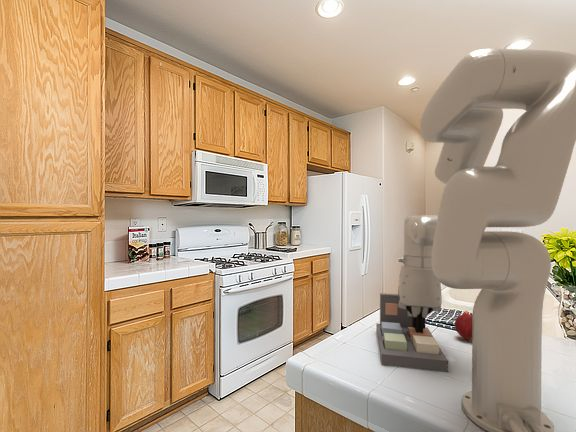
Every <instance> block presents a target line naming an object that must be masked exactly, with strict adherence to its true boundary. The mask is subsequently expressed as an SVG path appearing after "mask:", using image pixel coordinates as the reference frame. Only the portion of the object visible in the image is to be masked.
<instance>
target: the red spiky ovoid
mask: <svg viewBox="0 0 576 432" xmlns="http://www.w3.org/2000/svg"><path fill="white" fill-rule="evenodd" d="M472 318H473V315H471V313H470V312H469V311H468V310H465V311H464V313H462V314H460V315H458V317H456V319H455V321H454V328H455V331H456V333H458V335H459V336H460V337H461V338H463V340H466V341H469V340H472Z"/></svg>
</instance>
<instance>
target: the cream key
mask: <svg viewBox="0 0 576 432" xmlns="http://www.w3.org/2000/svg"><path fill="white" fill-rule="evenodd" d="M413 346H414V348H415V351H416V352H419V353H429V354H439V347H440V344H439V343H438V341H437V340H436V338H435V337H434V336H433V337H428V336H416V335H413Z"/></svg>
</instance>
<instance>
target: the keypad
mask: <svg viewBox="0 0 576 432" xmlns="http://www.w3.org/2000/svg"><path fill="white" fill-rule="evenodd" d="M398 300H399V297H398V293H385V292H380V293H379V323H377V322H376V323H375V324H376V328H375V329H376V331H375V332H376V339H377V344H378V351H379V357H380V364H381V366H386V367H387V366H390V367H397V368H407V369H415V370H417V369H418V370H424V371H425V370H426V371H434V372H443V373H449V359H448V358H447V357H446V355H445V353H444V351H443V350H442V348H441V346H439V354H429V353H419V352H416V351H415V348H414V346H413V339H410V338H409V335H408V327H412V314H411V313H410V312H409V311H408V310H406V309H403V308H399V307H398V305H397V303H398ZM416 309H417V314H418V315H419V313H420V310H421V307H416ZM381 322H391V323H400V326H401V328H402V334H404V336H405V339H406V341H407V351H398V350H388V349H385V346H384V336H382V331H381ZM425 328H426V329H427V330H428V331H429V333H430V335H431V337H434V335H433V334H432V332H431V331H430V329H429V327H427V326H425Z"/></svg>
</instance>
